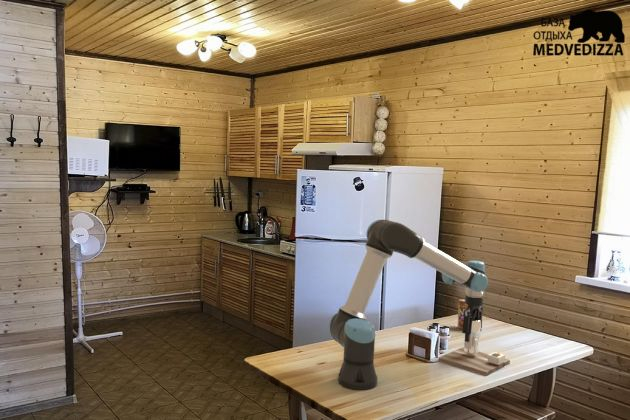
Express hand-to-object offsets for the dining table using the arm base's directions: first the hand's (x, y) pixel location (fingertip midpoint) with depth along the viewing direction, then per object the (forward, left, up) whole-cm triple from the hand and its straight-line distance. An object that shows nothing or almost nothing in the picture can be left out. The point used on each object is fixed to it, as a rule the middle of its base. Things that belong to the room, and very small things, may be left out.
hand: (471, 346), depth 236 cm
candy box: (+41, +24, -6) cm, 48 cm away
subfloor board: (-3, -3, -5) cm, 7 cm away
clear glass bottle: (0, 0, -3) cm, 3 cm away
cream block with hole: (0, -12, -3) cm, 12 cm away
